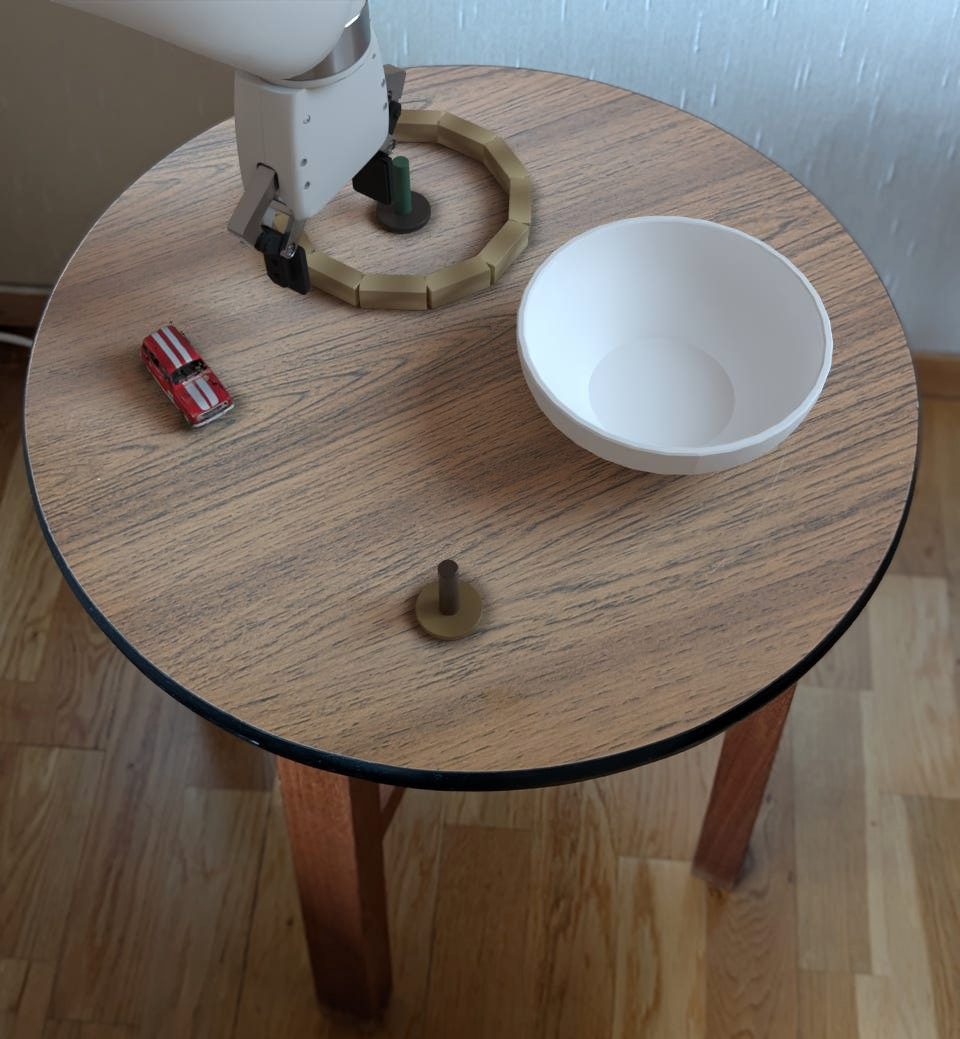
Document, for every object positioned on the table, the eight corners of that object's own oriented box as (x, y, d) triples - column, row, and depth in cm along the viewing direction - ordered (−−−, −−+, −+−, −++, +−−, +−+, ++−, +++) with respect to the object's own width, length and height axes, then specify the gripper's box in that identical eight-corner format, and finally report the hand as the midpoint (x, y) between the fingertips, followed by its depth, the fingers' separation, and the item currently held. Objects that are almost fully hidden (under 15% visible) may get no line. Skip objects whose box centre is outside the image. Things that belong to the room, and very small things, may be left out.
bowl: (777, 282, 94) (798, 206, 88) (838, 512, 84) (866, 445, 78) (501, 296, 93) (503, 221, 87) (527, 531, 83) (531, 464, 77)
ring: (439, 348, 91) (439, 331, 89) (224, 241, 96) (220, 223, 95) (577, 187, 99) (578, 168, 98) (372, 97, 105) (370, 78, 103)
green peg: (410, 241, 96) (408, 189, 92) (365, 219, 97) (360, 167, 93) (441, 208, 98) (440, 155, 94) (396, 187, 99) (393, 134, 95)
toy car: (194, 437, 87) (185, 407, 84) (136, 360, 90) (125, 328, 87) (242, 411, 88) (235, 381, 85) (182, 336, 91) (174, 304, 89)
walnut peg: (459, 652, 78) (458, 610, 74) (402, 619, 79) (398, 577, 75) (495, 602, 80) (496, 558, 76) (439, 571, 81) (438, 526, 77)
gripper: (339, -75, 81) (361, 143, 95) (154, 87, 73) (209, 298, 88) (442, -34, 79) (449, 183, 93) (263, 137, 71) (301, 345, 85)
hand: (332, 239), depth 90 cm, fingers open, 9 cm apart
